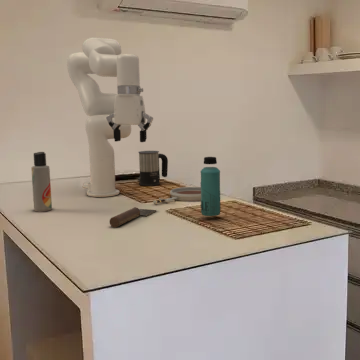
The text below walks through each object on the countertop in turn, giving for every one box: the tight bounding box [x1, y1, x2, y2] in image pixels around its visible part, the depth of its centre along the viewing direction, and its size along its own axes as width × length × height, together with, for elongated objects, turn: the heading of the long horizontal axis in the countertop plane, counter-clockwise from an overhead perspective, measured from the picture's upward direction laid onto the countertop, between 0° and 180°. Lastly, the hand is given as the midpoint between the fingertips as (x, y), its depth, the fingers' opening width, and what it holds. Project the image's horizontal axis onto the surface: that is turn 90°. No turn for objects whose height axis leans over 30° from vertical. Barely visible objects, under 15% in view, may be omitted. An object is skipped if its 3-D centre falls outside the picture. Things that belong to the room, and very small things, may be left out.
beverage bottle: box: [199, 156, 222, 217], centre depth 157 cm, size 6×7×20 cm
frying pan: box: [152, 186, 201, 206], centre depth 189 cm, size 17×3×28 cm
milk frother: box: [137, 150, 169, 187], centre depth 224 cm, size 14×16×15 cm
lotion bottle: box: [31, 151, 53, 213], centre depth 168 cm, size 6×6×20 cm
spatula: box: [109, 207, 157, 228], centre depth 158 cm, size 23×6×3 cm, turn 165°
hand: (130, 141), depth 171 cm, fingers open, 9 cm apart
